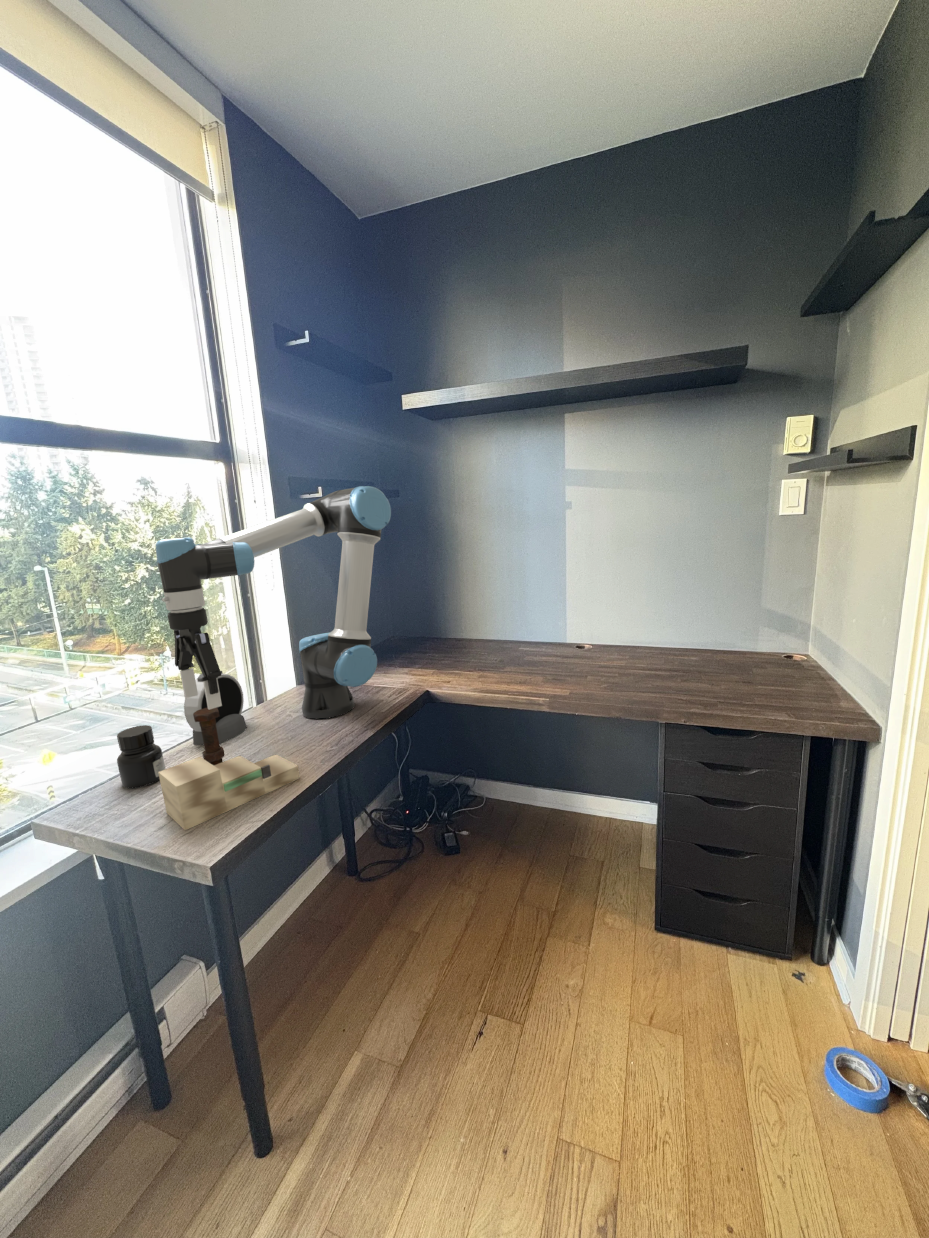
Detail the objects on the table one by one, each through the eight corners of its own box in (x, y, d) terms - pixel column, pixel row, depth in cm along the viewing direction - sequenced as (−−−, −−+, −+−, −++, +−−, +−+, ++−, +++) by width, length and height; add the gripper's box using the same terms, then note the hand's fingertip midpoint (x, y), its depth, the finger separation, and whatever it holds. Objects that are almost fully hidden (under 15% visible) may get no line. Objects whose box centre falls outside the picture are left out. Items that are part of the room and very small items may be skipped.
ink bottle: (171, 779, 122) (161, 730, 119) (127, 794, 116) (115, 743, 114) (161, 766, 129) (151, 720, 126) (118, 780, 123) (107, 732, 121)
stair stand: (277, 766, 123) (271, 730, 122) (301, 779, 116) (295, 740, 114) (166, 813, 107) (158, 771, 105) (186, 831, 99) (177, 787, 98)
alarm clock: (213, 749, 136) (200, 682, 133) (182, 747, 140) (169, 680, 136) (256, 724, 151) (246, 663, 148) (227, 722, 154) (217, 662, 151)
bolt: (233, 765, 126) (222, 705, 123) (225, 775, 121) (213, 713, 118) (209, 767, 126) (197, 708, 123) (199, 778, 121) (187, 716, 118)
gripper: (149, 608, 122) (165, 696, 126) (189, 616, 105) (207, 718, 109) (183, 603, 127) (198, 687, 131) (227, 610, 110) (243, 706, 114)
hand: (202, 701), depth 120 cm, fingers open, 13 cm apart
